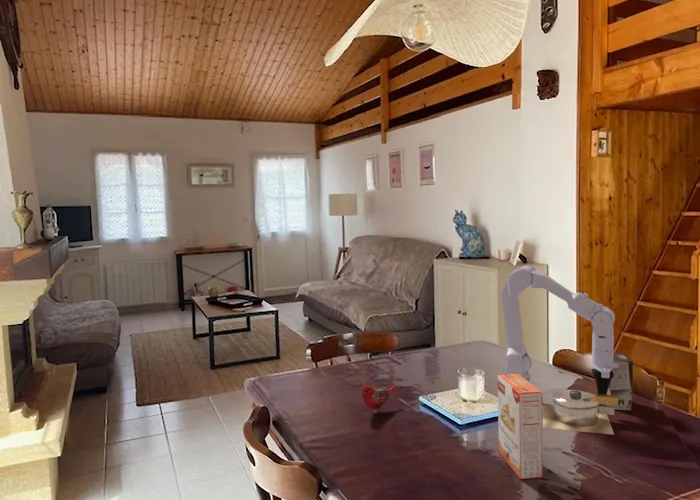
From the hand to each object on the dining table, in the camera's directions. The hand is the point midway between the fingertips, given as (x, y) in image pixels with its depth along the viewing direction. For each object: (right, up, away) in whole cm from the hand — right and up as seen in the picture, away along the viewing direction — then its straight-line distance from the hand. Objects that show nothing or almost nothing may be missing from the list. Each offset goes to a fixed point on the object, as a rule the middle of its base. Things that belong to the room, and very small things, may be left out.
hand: (602, 394), depth 160 cm
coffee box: (+8, -6, +8) cm, 13 cm away
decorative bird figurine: (-65, -8, +10) cm, 66 cm away
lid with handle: (-7, -1, -3) cm, 8 cm away
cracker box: (-33, -10, -27) cm, 44 cm away
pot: (-7, -6, -3) cm, 10 cm away
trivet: (-9, -8, -2) cm, 12 cm away
